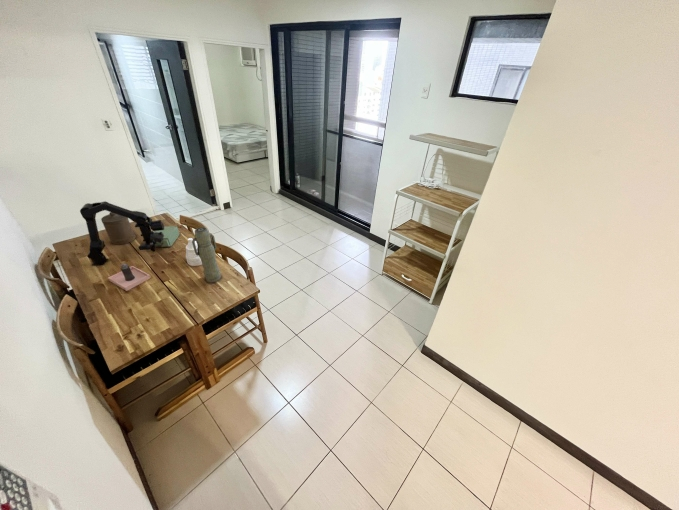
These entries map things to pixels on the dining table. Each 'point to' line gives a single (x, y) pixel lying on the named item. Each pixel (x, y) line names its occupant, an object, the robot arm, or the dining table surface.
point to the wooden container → (118, 228)
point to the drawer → (162, 243)
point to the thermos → (207, 254)
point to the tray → (128, 285)
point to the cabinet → (170, 234)
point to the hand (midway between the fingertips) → (154, 251)
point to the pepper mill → (127, 272)
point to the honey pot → (192, 254)
